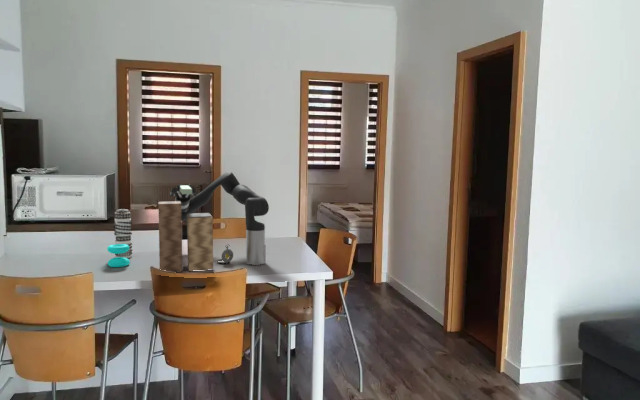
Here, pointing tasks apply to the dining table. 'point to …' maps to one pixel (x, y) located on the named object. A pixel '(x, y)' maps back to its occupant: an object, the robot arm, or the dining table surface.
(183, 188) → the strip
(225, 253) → the pocket watch
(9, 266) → the dining table surface
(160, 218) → the walnut stand
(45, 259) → the dining table surface
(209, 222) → the oak block
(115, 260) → the donuts
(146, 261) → the dining table surface
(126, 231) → the decorative candle
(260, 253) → the robot arm
